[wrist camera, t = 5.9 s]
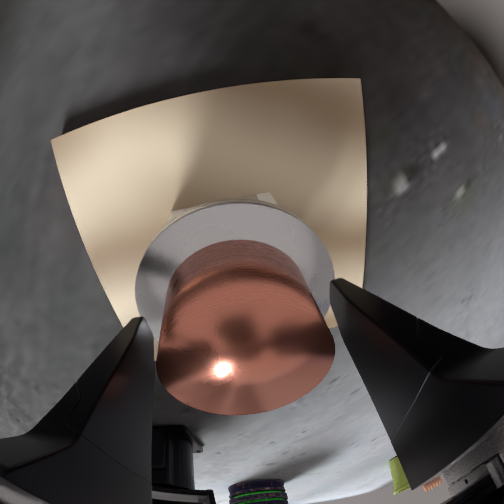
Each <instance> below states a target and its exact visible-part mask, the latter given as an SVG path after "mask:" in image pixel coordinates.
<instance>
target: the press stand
mask: <svg viewBox="0 0 504 504" xmlns="http://www.w3.org/2000/svg"><path fill="white" fill-rule="evenodd" d="M51 143H52V147H53V151H54V155H55V159H56V163H57V166H58V170H59V173H60V177H61V180H62V183H63V187H64V190H65V193H66V196H67V199H68V202H69V205H70V208H71V211H72V214H73V216H74V219H75V222H76V225H77V227H78V230H79V233H80V235H81V238H82V240H83V243H84V245H85V248H86V250H87V252H88V255H89V257H90V260H91V262H92V264H93V266H94V269H95V271H96V273H97V275H98V278H99V280H100V282H101V284H102V286H103V288H104V290H105V292H106V294H107V296H108V298H109V300H110V302H111V304H112V306H113V308H114V310H115V312H116V314H117V316H118V318H119V320H120V322H121V324H122V325H123V327H125V326H126V325H127V323H128V322H129V321H130V320H131V319H132V318H134V317H140V314H139V312H138V309H137V304H136V300H135V281H136V275H137V272H138V268H139V265H140V262H141V260H142V257H143V255H144V253H145V251H146V248H147V246H148V245H149V243H150V242H151V240H152V239H153V237H154V236H155V235H156V234H157V233H158V232H159V230H160V229H161V228H162V227H163V226H164V225H165V224H167V223H168V222H169V221H171V220H172V219H173V218H174V217H176V216H178V215H179V214H181V213H183V212H184V211H186V210H188V209H190V208H193V207H195V206H198V205H200V204H203V203H207V202H211V201H214V200H221V199H228V198H248V199H256V200H262V201H266V202H269V203H273V204H276V205H278V206H280V207H283V208H285V209H287V210H289V211H291V212H292V213H294V214H296V215H297V216H299V217H300V218H301V219H302V220H303V221H305V222H306V223H307V224H308V225H309V226H310V227H311V228H312V229H313V231H314V232H315V233H316V234H317V236H318V237H319V238H320V240H321V241H322V242H323V244H324V246H325V247H326V249H327V251H328V253H329V255H330V258H331V260H332V264H333V268H334V275H335V279H337V278H343V279H345V280H347V281H349V282H351V283H353V284H355V285H357V286H359V287H361V288H362V286H363V275H364V261H365V245H366V221H367V160H366V137H365V121H364V109H363V98H362V88H361V80H360V78H319V79H297V80H283V81H272V82H262V83H254V84H246V85H239V86H232V87H226V88H220V89H214V90H209V91H204V92H199V93H194V94H189V95H185V96H180V97H176V98H172V99H168V100H164V101H160V102H156V103H152V104H149V105H145V106H142V107H138V108H135V109H132V110H129V111H125V112H122V113H119V114H116V115H113V116H110V117H107V118H105V119H102V120H99V121H96V122H94V123H91V124H88V125H86V126H83V127H81V128H78V129H76V130H73V131H71V132H68V133H66V134H64V135H61V136H59V137H57V138H55V139H52V140H51ZM324 320H325V322H326V324H327V326H328V328H333V327H337V326H338V324H337V322H336V319H335V316H334V313H333V311H332V308H331V305H330V307H329V310H328V312H327V314H326V316H325V317H324ZM158 345H159V342H158V341H157V340H156V339H155V338H154V361H156V360H157V352H158Z"/></svg>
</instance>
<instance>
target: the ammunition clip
mask: <svg viewBox="0 0 504 504" xmlns="http://www.w3.org/2000/svg"><path fill="white" fill-rule="evenodd" d="M439 483H440V484H441V483H442V482H441V478H440V476H439V477H437V478H435V479H433V480H432V481H430V482H428V483H426V484H424V485H422V486H423V488H424V490H425V491H426V492H428V489H429V490H431V488H432V489H433V488H434V487H436V484H437V485H438V486H439Z"/></svg>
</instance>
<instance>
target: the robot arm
mask: <svg viewBox="0 0 504 504" xmlns="http://www.w3.org/2000/svg"><path fill="white" fill-rule="evenodd" d="M329 300H330V305H331V308H332V311H333V313H334V316H335V319H336V322H337V324H338V327H339V330H340V333H341V336H342V338H343V341H344V343H345V345H346V347H347V349H348V351H349V353H350V355H351V357H352V359H353V361H354V363H355V365H356V368H357V370H358V372H359V374H360V376H361V378H362V380H363V382H364V384H365V386H366V388H367V390H368V392H369V395H370V397H371V399H372V401H373V403H374V405H375V407H376V410H377V412H378V414H379V416H380V418H381V420H382V423H383V425H384V427H385V429H386V431H387V434H388V436H389V438H390V440H391V443H392V445H393V448H394V450H395V452H396V454H397V457H398V459H399V461H400V464H401V466H402V468H403V471H404V473H405V476H406V478H407V480H408V483H409V485H410V488H411V490H414V489H416V488H418V487H420V486H422V485H424V484H426V483H428V482H430V481H432V480H433V479H435V478H437V477H439V476H440V475H442V474H443V475H444V477H445V479H446V482H447V484H448V486H449V487H448V490H449V492H450V495H451V498H450V499H448V500H446V501H445V502H443V503H441V504H504V348H498V349H489V348H484V347H481V346H478V345H476V344H473V343H471V342H469V341H466V340H464V339H462V338H459V337H457V336H454V335H452V334H450V333H448V332H445V331H443V330H441V329H439V328H437V327H435V326H433V325H431V324H429V323H427V322H425V321H423V320H421V319H419V318H418V319H417V317H416V316H414V315H412V314H410V313H408V312H406V311H404V310H402V309H401V308H399V307H397V306H395V305H393V304H391V303H389V302H387V301H385V300H384V299H382V298H380V297H378V296H376V295H374V294H372V293H370V292H368V291H366V290H364V289H363V288H361V287H359V286H357V285H355V284H353V283H351V282H349V281H347V280H345V279H343V278H337V279H333V280H331V281H330V290H329ZM154 381H155V366H154V337H153V333H152V331H151V329H150V327H149V325H148V323H147V321H146V319H145V318H144V317H143V316H141V317H134V318H132V319H131V320H130V321H129V322H128V323H127V325H126V326H125V327H124V328H123V329H122V330H121V331H120V332H119V333H118V335H117V336H116V337H115V338H114V339H113V340H112V341H111V342H110V343H109V345H108V346H107V347H106V348H105V349H104V350H103V351H102V353H101V354H100V355H99V356H98V357H97V358H96V359H95V361H94V362H93V363H92V364H91V365H90V366H89V367H88V369H87V370H86V371H85V372H84V373H83V374H82V376H81V377H80V378H79V379H78V380H77V382H76V383H75V384H74V385H73V386H72V387H71V389H70V390H69V391H68V392H67V393H66V394H65V395H64V397H63V398H62V399H61V400H60V401H59V402H58V403H57V404H56V405H55V406H54V407H53V408H52V409H51V410H50V411H49V412H48V413H47V414H46V415H45V416H44V417H43V418H42V419H41V420H40V421H39V423H38V424H37V425H36V426H35V427H34V428H33V429H31V430H30V431H29V432H27V433H25V434H23V435H20V436H15V437H9V438H3V439H0V504H216V502H215V497H214V493H213V490H195V485H194V467H193V453H201V452H203V448H202V447H201V445H200V444H199V443H198V442H197V441H196V439H195V438H194V437H193V436H192V434H191V433H190V432H189V431H188V429H187V428H186V427H183V426H174V427H152V414H153V396H154Z"/></svg>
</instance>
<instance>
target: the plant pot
mask: <svg viewBox="0 0 504 504" xmlns="http://www.w3.org/2000/svg"><path fill="white" fill-rule="evenodd" d="M389 465H390V469H391V474H392V478H393V482H394V493H393V494H397V493H400V492H402V491H404V490H406V489H408V488H410V485H409V483H408V480H407V478H406V476H405V473H404V471H403V468H402V466H401V464H400V461H399V459H398V457H394V458H393V459H392V460H390V461H389Z"/></svg>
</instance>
